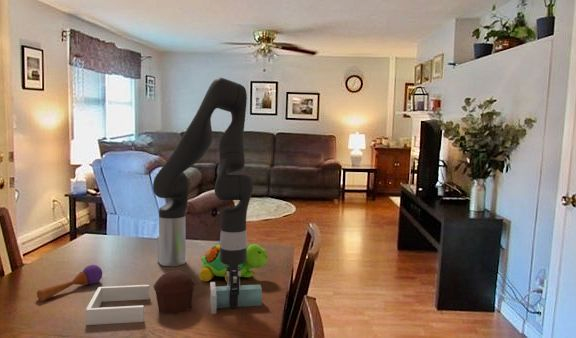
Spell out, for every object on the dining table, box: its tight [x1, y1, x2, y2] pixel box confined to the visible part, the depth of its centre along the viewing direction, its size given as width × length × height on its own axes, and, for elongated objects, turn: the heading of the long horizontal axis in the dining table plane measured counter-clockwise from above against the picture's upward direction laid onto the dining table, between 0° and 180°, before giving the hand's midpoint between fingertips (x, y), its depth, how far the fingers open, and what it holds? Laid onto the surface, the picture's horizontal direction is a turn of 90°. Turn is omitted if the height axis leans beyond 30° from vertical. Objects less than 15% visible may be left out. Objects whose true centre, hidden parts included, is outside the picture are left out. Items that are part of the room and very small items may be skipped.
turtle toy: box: [199, 241, 269, 283], centre depth 157 cm, size 17×23×12 cm
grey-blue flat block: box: [209, 281, 263, 315], centre depth 134 cm, size 14×11×5 cm
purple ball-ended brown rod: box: [36, 264, 103, 302], centre depth 142 cm, size 6×6×20 cm
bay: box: [85, 284, 150, 326], centre depth 128 cm, size 14×16×4 cm
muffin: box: [152, 270, 196, 315], centre depth 131 cm, size 12×11×10 cm
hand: (232, 303), depth 134 cm, fingers open, 5 cm apart
